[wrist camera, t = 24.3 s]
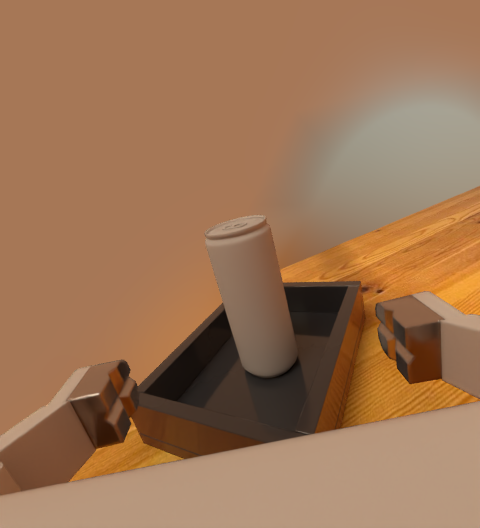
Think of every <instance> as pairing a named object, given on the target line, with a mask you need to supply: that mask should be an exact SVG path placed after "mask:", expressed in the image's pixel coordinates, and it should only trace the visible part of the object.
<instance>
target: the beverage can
mask: <svg viewBox="0 0 480 528" xmlns="http://www.w3.org/2000/svg"><path fill="white" fill-rule="evenodd" d="M205 236H206V247H207V251H208V254H209V257H210V260H211V264H212V267H213V271H214V274H215V277H216V280H217V284H218V287H219V291H220V294H221V297H222V301H223V304H224V307H225V311H226V314H227V317H228V321H229V324H230V327H231V330H232V334H233V337H234V340H235V344H236V347H237V350H238V353H239V356H240V360H241V363H242V366H243V367H244V368H245V370H247V371H248V372H250V373H251V374H253V375H255V376H258V377H262V378H273V377H276V376H280V375H282V374H283V373H285V372H287V371H288V370H289V369H290V368H291V367H292V366H293V364H294V363H295V361H296V359H297V356H298V349H297V345H296V340H295V336H294V331H293V327H292V322H291V318H290V313H289V309H288V304H287V300H286V295H285V291H284V286H283V282H282V277H281V273H280V268H279V264H278V260H277V255H276V250H275V246H274V242H273V237H272V233H271V228H270V225H269V224H267V223H266V217H265V216H262V215H255V216H247V217H241V218H238V219H234V220H230V221H226V222H223V223H220V224H218V225H215V226H213V227H211V228H209V229H208V230H206V231H205Z"/></svg>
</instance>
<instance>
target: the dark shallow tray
mask: <svg viewBox="0 0 480 528" xmlns="http://www.w3.org/2000/svg"><path fill="white" fill-rule="evenodd" d="M283 286H284V291H285V295H286V300H287V304H288V309H289V313H290V318H291V322H292V327H293V331H294V336H295V340H296V345H297V349H298V356H297V359H296V361H295V363H294V364H293V366H292V367H291V368H290V369H289V370H288V371H287V372H285V373H283V374H282V375H280V376H276V377H273V378H262V377H258V376H255V375H253V374H251V373H250V372H248V371H247V370H245V368H244V367H243V366H242V363H241V360H240V356H239V353H238V350H237V347H236V344H235V340H234V337H233V334H232V330H231V327H230V324H229V321H228V317H227V314H226V311H225V307H224V304H223V303H222V304H221V305H220V306H219V307H218V308H217V309H216V310H215V311H214V312H213V313H212V314H211V315H210V316H209V317H208V318H207V319H206V320H205V321H204V322H203V323H202V324H201V325H200V326H199V327H198V328H197V329H196V330H195V331H194V332H193V333H192V334H191V335H190V336H189V337H188V338H187V339H186V340H185V341H184V342H183V343H182V344H180V346H178V347H177V348H176V349H175V350H174V351H173V352H172V353H171V354H170V355H169V356H168V358H167V359H165V360H164V361H163V362H162V363H161V364H160V365H159V366H158V367H157V368H156V369H155V370H154V371H153V372H152V373H151V374H150V375H149V376H148V377H147V378H146V379H145V380H144V381H143V382H142V383H141V384H140V385H139V386H138V389H139V405H138V408H137V410H136V412H135V413H134V414H133V415H132V416H131V417H132V419H133V422H134V424H135V426H136V428H137V430H138V432H139V434H140V436H141V438H142V441H143V443H146V444H148V445H151V446H153V447H156V448H159V449H161V450H164V451H166V452H169V453H172V454H174V455H177V456H179V457H182V458H185V459H189V458H194V457H199V456H204V455H209V454H214V453H219V452H224V451H229V450H234V449H239V448H245V447H250V446H255V445H260V444H265V443H270V442H275V441H280V440H285V439H290V438H295V437H300V436H305V435H310V434H315V433H321V432H326V431H331V430H336V429H340V427H341V423H342V418H343V414H344V409H345V405H346V401H347V396H348V392H349V387H350V383H351V379H352V374H353V370H354V365H355V361H356V357H357V352H358V348H359V343H360V339H361V335H362V330H363V326H364V321H365V310H364V302H363V294H362V287H361V281H346V282H293V283H283Z"/></svg>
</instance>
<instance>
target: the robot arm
mask: <svg viewBox="0 0 480 528" xmlns="http://www.w3.org/2000/svg"><path fill="white" fill-rule="evenodd" d="M375 310H376V316H377V318H378V319H379V320H380V321H381V323H380V325H379V327H378V328H377V329H378V336H379V340H380V343H381V346H382V348H383V350H384V352H385V353H386V355H387V356H388V357H389V358H390V359H392V360H395V361H396V362H397V369H398V370H399V371H400V372H401V374H402V375H403V376H404V377H405V379H406V380H407V381H408V382H409V384H414V383H420V382H426V381H431V380H437V379H442V380H443V381H445V382H447V383H449V384H451V385H453V386H455V387H457V388H459V389H461V390H463V391H465V392H467V393H469V394H470V395H472V396H474V397H476V398H478V399H480V315H475V314H469V315H465V314H463V313H462V312H460V311H459V310H457V309H456V308H454V307H453V306H451V305H450V304H448V303H447V302H445V301H443V300H442V299H440V298H439V297H437V296H436V295H434V294H433V293H431V292H429V291H423V292H420V293H416V294H412V295H408V296H404V297H400V298H396V299H392V300H388V301H384V302H380V303H377V304H376V308H375ZM129 373H130V368H129V366H128V364H127V362H126V361H124V360H117V361H113V362H108V363H103V364H98V365H94V366H88V367H83V368H80V369H77V370H75V371H74V373H73V374H72V375H71V376H70V378H69V379H68V380H67V381H66V383H65V384H64V385H63V387H62V388H61V389H60V390H59V392H58V393H57V394H56V395H55V397H54V398H53V399H52V401H51V402H50V403H49V404H48V405H47V406H43V407H41V408H40V409H38V410H37V411H35V412H34V413H33V414H31V415H30V416H28V417H27V418H25V419H24V420H22V421H21V422H20V423H18V424H17V425H15V426H14V427H12V428H11V429H10V430H8V431H7V432H5V433H4V434H2V435H1V436H0V528H480V401H478V402H473V403H468V404H463V405H458V406H453V407H447V408H442V409H437V410H432V411H427V412H422V413H417V414H412V415H407V416H402V417H397V418H392V419H387V420H381V421H376V422H371V423H366V424H361V425H356V426H351V427H346V428H341V429H336V430H331V431H326V432H321V433H315V434H310V435H305V436H300V437H295V438H290V439H285V440H280V441H275V442H270V443H265V444H260V445H255V446H250V447H245V448H239V449H234V450H229V451H224V452H219V453H214V454H209V455H204V456H199V457H194V458H189V459H184V460H178V461H173V462H168V463H163V464H158V465H153V466H148V467H143V468H138V469H133V470H128V471H122V472H117V473H112V474H107V475H102V476H97V477H92V478H87V479H82V480H77V481H72V482H69V481H70V479H71V478H72V477H73V476H74V475H75V474H76V473H77V471H78V470H79V469H80V468H81V467H82V466H83V465H84V464H85V462H86V461H87V460H88V459H89V458H90V457H91V456H92V454H93V453H94V452H95V451H96V449H98V448H102V447H107V446H111V445H115V444H119V443H123V442H124V440H125V437H126V435H127V432H128V430H129V428H130V425H131V422H130V420H129V418H130V417H131V416H132V415H133V414H134V413H135V412H136V410H137V408H138V405H139V389H138V386H137V384H136V381H135V380H133V379H131V378H130V377H129Z"/></svg>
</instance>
